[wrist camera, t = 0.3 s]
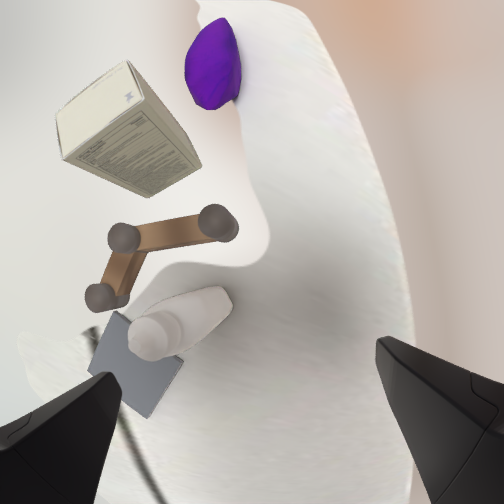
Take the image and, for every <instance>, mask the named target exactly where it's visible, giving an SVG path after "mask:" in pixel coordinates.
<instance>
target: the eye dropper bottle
mask: <svg viewBox="0 0 504 504" xmlns="http://www.w3.org/2000/svg"><path fill="white" fill-rule="evenodd" d="M232 308H233V305H232V302H231V300H230V298H229V297H228V295H227V293H226V291H225V290H224V289H223V288H222V287H220V286H214V287H207V288H203V289H199V290H195V291H191V292H188V293H184V294H180V295H177V296H173V297H170V298H167V299H165V300H162V301H160V302H158V303H156V304H155V305H153V306H152V307H150V308H149V309H148V310H147V311H145V312H144V313H143V314H142V315H141V317H139V318H137V319H135V320H134V321H133V322H132V323H131V324H130V326H129V330H128V342H129V343H128V347H129V349H130V351H131V352H133V353H135V354H136V355H137V356H138V357H140V358H142V359H144V360H146V361H151V362H152V361H153V362H154V361H158V360H160V359H162V358H163V357H169V356H173V355H177V354H179V353H182V352H184V351H186V350H188V349H190V348H191V347H193V346H194V345H196V344H197V343H198V342H200V341H201V340H202V339H203V338H204V337H205V336H207V335H208V334H209V333H210V332H211V331H212V330H213V329H214V328H215V327H216V326H218V325H219V324H220V323H221V322H222V321H223V320H224V319H225V318H226V317H227V316H228V315H229V314H230V312H231V311H232Z"/></svg>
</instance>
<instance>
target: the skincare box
mask: <svg viewBox="0 0 504 504" xmlns="http://www.w3.org/2000/svg"><path fill="white" fill-rule="evenodd" d="M55 121H56V130H57V137H58V145H59V150H60V156H61V159H62V160H64V161H66V162H68V163H70V164H72V165H75V166H77V167H79V168H82V169H84V170H86V171H88V172H90V173H92V174H95V175H97V176H99V177H101V178H103V179H105V180H108V181H110V182H112V183H114V184H116V185H119V186H121V187H123V188H125V189H128V190H129V191H132V192H134V193H136V194H138V195H140V196H143V197H145V198H150V197H151V196H153V195H155V194H157V193H158V192H160V191H162V190H164V189H166V188H167V187H169V186H171V185H172V184H174V183H176V182H178V181H179V180H181V179H183V178H185V177H186V176H188V175H190V174H191V173H193V172H195V171H196V170H198V169H200V168H201V167H202V164H201V162H200V160H199V158H198V155H197V154H196V151H195V149H194V147H193V145H192V143H191V141H190V140H189V137H188V136H187V134H186V132H185V131H184V130H183V128H182V127H181V126H180V124H179V123H178V122H177V121H176V119H175V118H174V117H173V115H172V114H171V113H170V111H169V110H168V109H167V108H166V106H165V105H164V104H163V103H162V101H161V100H160V99H159V97H158V96H157V95H156V93H155V92H154V91H153V90H152V89H151V87H150V86H149V85H148V84H147V82H146V81H145V80H144V79H143V77H142V76H141V75H140V74H139V72H138V71H137V70H136V69H135V68H134V67H133V65H132V64H131V63H130V61H128V60H124V61H123V62H121V63H120V64H118V65H116V66H115V67H113V68H112V69H110V70H109V71H107V72H106V73H105V74H103V75H102V76H101V77H99V78H97V79H96V80H95V81H94V82H92V83H91V84H90V85H89V86H87V87H86V88H84V89H83V90H82V91H81V92H80V93H78V94H77V95H76V96H74V97H73V98H72V99H71V100H70V101H69V102H67V103H66V104H65V105H64V106H63V107H62V108H61V109H59V110H58V112H56V114H55Z"/></svg>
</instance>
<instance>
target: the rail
mask: <svg viewBox="0 0 504 504" xmlns="http://www.w3.org/2000/svg"><path fill="white" fill-rule="evenodd" d="M238 231H239V226H238V222H237V221H236V219H235V218H234V217H233V216H232V215H231V213H230V212H229V211H228V210H227V209H226V208H225V207H223V206H222V205H219V204H211V205H208V206H206V207H205V208H204V209H203V210H202V211H201V212H200V214H197V215H191V216H186V217H180V218H175V219H170V220H164V221H159V222H154V223H149V224H144V225H139V226H132V225H129V224H125V223H117V224H115V225H113V226H112V228H111V229H110V231H109V233H108V245H109V247H110V248H111V250H113V252H112V254H111V257H110V259H109V262H108V264H107V267H106V269H105V272H104V274H103V277H102V279H101V282H100V284H92V285H90V286H89V287H88V288H87V289H86V292H85V302H86V305H87V307H88V308H89V309H90V310H91V311H92V312H95V313H99V312H104V311H108V310H113V309H117V308H121V307H124V306H126V305H127V304H128V302H129V299H130V292H131V290H132V287H133V285H134V283H135V280H136V278H137V276H138V273H139V271H140V269H141V266H142V264H143V262H144V259H145V257H146V255H147V253H148V252H152V251H158V250H164V249H171V248H177V247H184V246H190V245H196V244H203V243H209V242H216V241H219V242H229V241H231V240H233V239H234V238H235V237H236V236H237V234H238Z"/></svg>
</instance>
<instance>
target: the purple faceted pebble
mask: <svg viewBox="0 0 504 504" xmlns="http://www.w3.org/2000/svg"><path fill="white" fill-rule="evenodd" d="M185 81H186V84H187V86H188V88H189V91H190V93H191V95H192V97H193V99H194V101H195V103H196V104H197V105H199V106H200V107H202V108H204V109H206V110H216V109H218V108H220V107H221V106H223V105H224V104H225V103H226V102H228V101H230V100H232V99H233V98H235V97H237V95H238V93H239V88H240V82H241V63H240V58H239V53H238V48H237V42H236V39H235V36H234V33H233V30H232V28H231V26H230V24H229V23H228V21H227V20H226V19H225V18H219V19H217V20H215V21H213V22H212V23H210V24H209V25H207V26H206V27H205V28H204V29H202V30H201V31H200V33H199V34H198V35H197V37H196V39H195V40H194V42H193V43H192V45H191V47H190V49H189V50H188V52H187V55H186V59H185Z"/></svg>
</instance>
